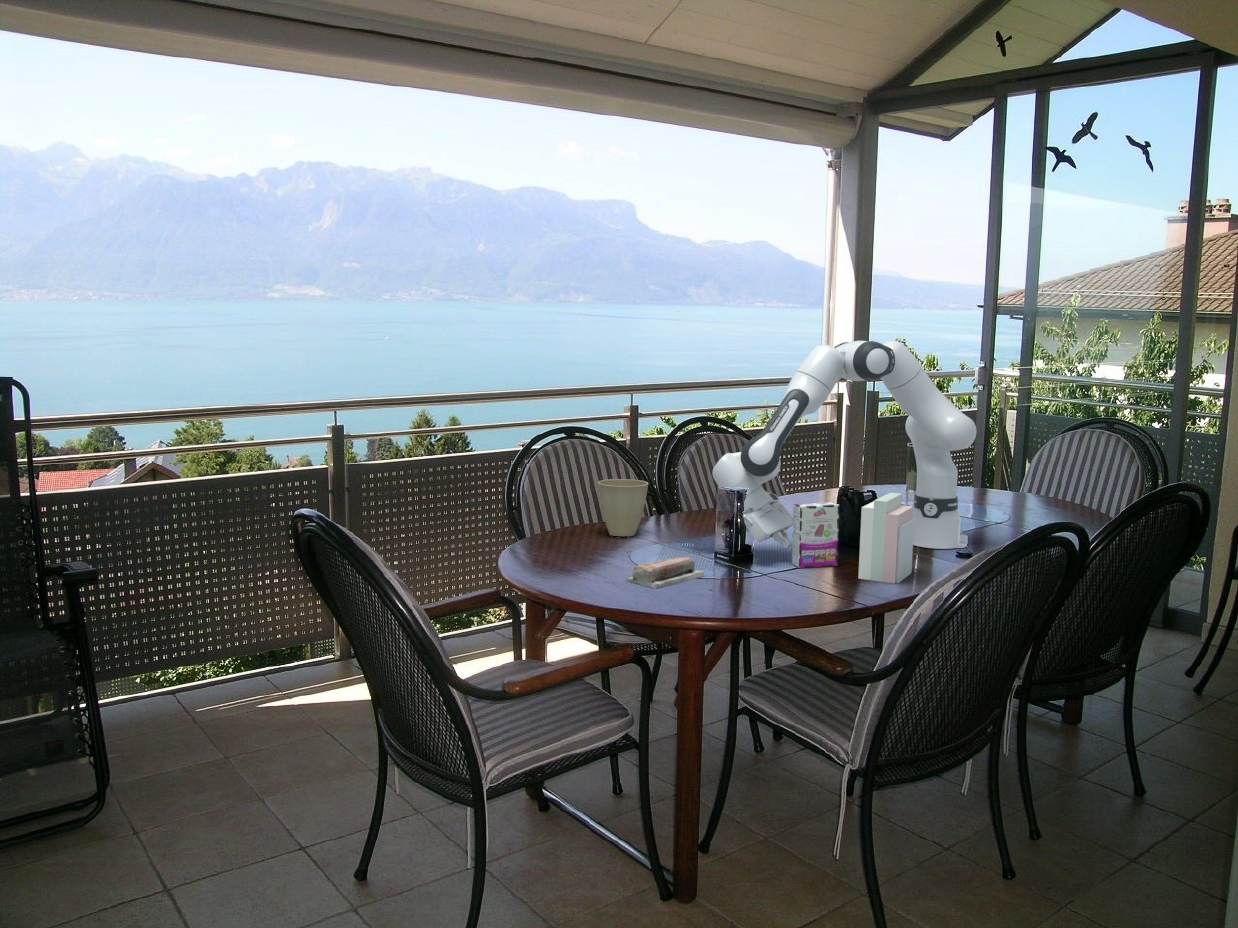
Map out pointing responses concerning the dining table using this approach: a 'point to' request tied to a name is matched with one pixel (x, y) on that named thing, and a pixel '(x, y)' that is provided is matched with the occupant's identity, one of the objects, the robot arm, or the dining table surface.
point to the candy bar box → (815, 534)
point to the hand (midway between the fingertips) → (789, 546)
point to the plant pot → (622, 504)
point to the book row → (886, 540)
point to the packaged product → (665, 572)
